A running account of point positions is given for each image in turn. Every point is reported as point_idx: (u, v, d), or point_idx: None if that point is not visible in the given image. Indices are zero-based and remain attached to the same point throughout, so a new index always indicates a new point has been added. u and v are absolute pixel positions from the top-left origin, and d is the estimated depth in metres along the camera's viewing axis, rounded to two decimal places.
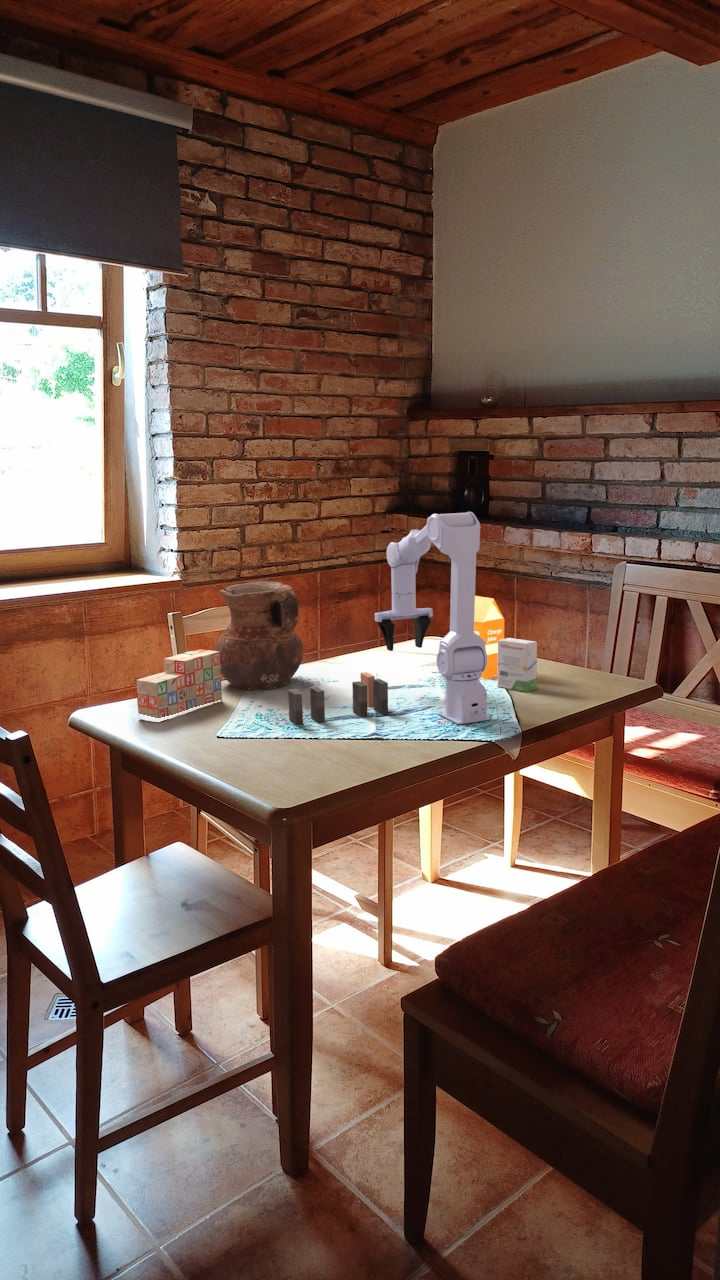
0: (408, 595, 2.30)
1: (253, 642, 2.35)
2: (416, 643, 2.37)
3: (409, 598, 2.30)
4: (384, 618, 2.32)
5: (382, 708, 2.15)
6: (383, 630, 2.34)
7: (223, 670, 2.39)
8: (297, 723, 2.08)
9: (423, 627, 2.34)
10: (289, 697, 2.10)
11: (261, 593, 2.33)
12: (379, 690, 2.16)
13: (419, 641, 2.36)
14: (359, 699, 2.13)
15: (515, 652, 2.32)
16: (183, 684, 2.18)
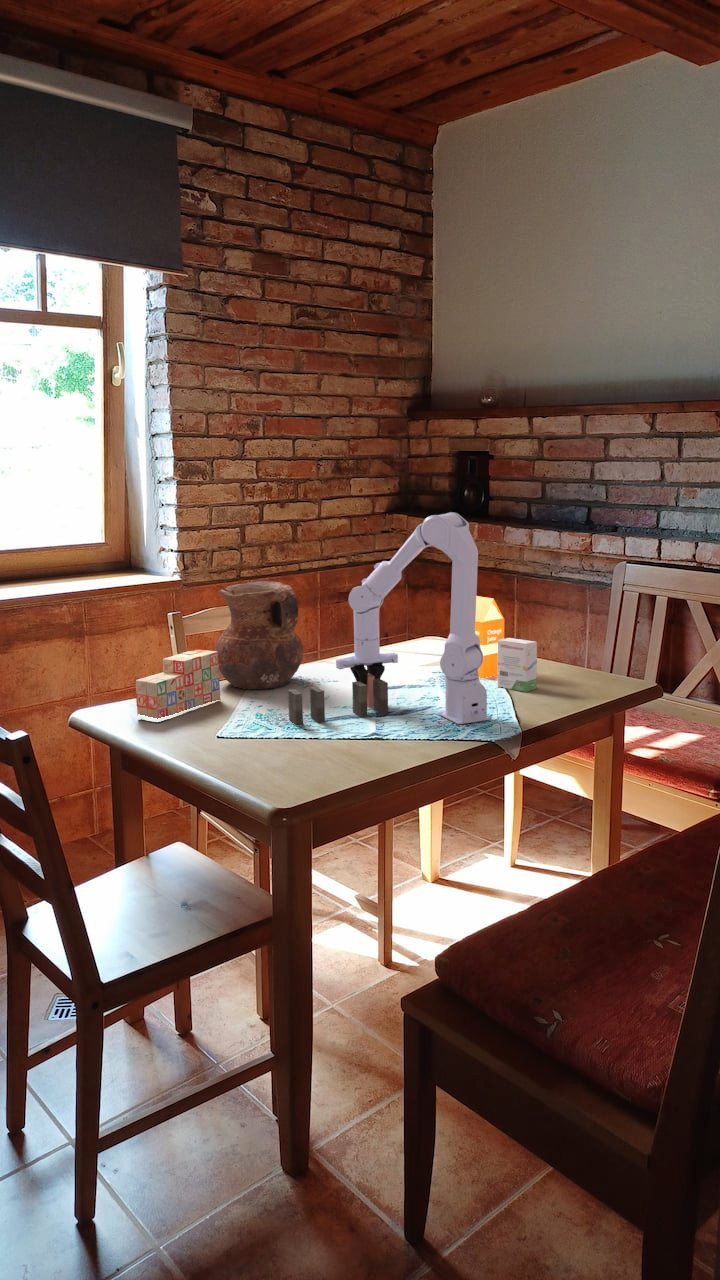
0: (371, 641, 2.19)
1: (253, 642, 2.35)
2: None
3: (372, 644, 2.19)
4: (346, 665, 2.20)
5: (382, 708, 2.15)
6: (356, 676, 2.23)
7: (223, 670, 2.39)
8: (297, 723, 2.08)
9: (376, 675, 2.22)
10: (289, 697, 2.10)
11: (261, 593, 2.33)
12: (379, 690, 2.16)
13: None
14: (359, 699, 2.13)
15: (515, 652, 2.32)
16: (182, 684, 2.18)
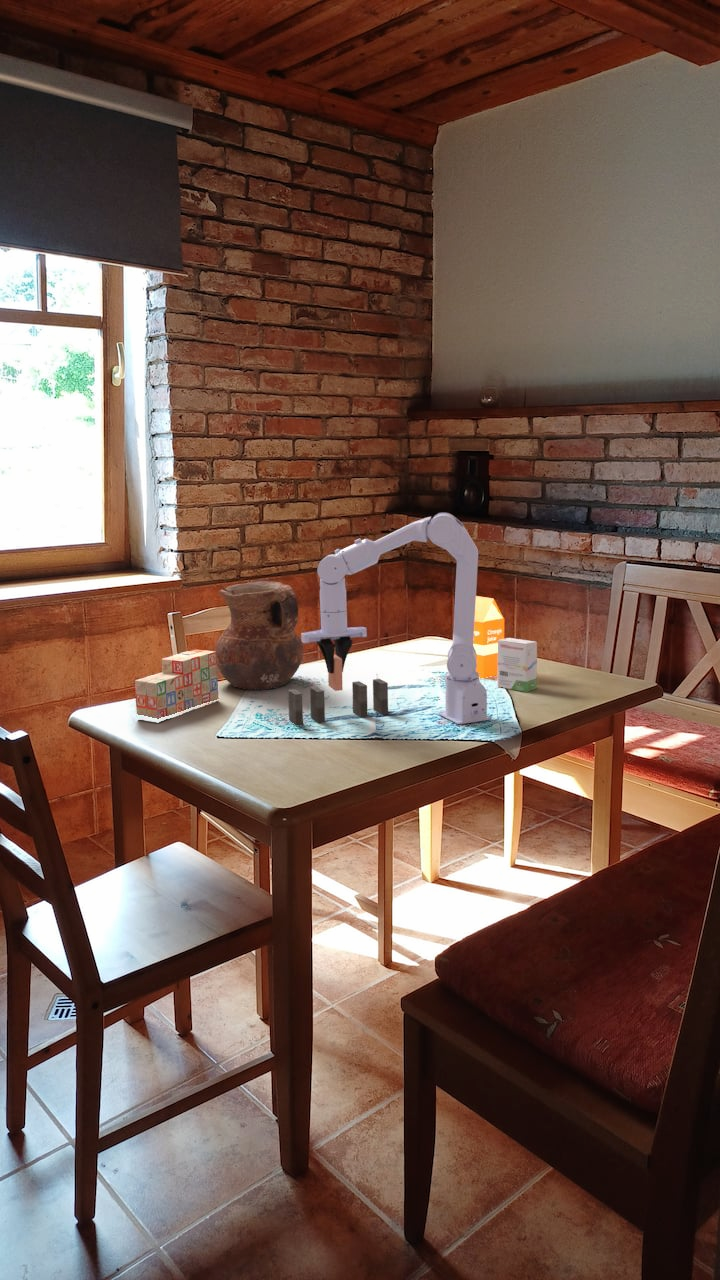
0: (337, 613, 2.08)
1: (253, 642, 2.35)
2: None
3: (339, 617, 2.09)
4: (312, 639, 2.10)
5: (382, 708, 2.15)
6: (323, 650, 2.13)
7: (223, 670, 2.39)
8: (297, 723, 2.08)
9: (344, 650, 2.11)
10: (289, 697, 2.10)
11: (261, 593, 2.33)
12: (379, 690, 2.16)
13: None
14: (359, 699, 2.13)
15: (515, 652, 2.32)
16: (181, 684, 2.18)
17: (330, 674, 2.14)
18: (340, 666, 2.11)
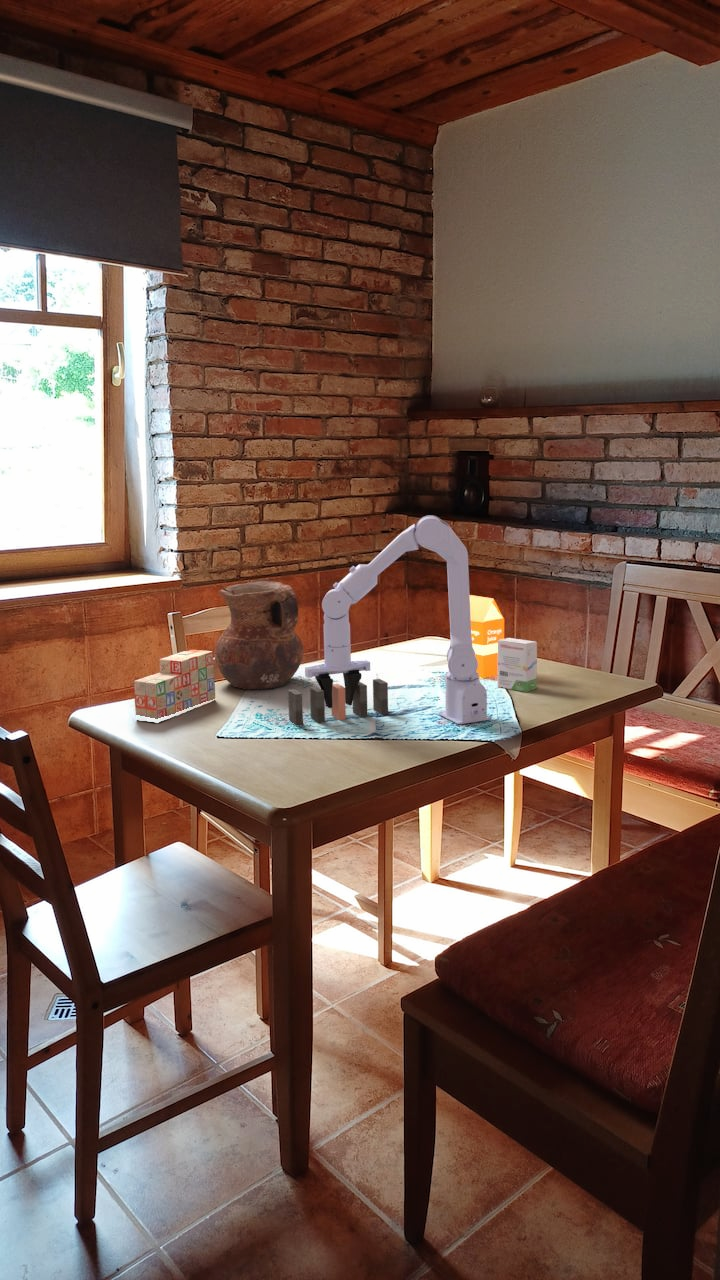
0: (341, 648, 2.08)
1: (253, 642, 2.35)
2: (346, 700, 2.15)
3: (343, 651, 2.09)
4: (315, 673, 2.10)
5: (382, 708, 2.15)
6: (321, 685, 2.12)
7: (223, 670, 2.39)
8: (297, 723, 2.08)
9: (353, 683, 2.12)
10: (289, 697, 2.10)
11: (261, 593, 2.33)
12: (379, 690, 2.16)
13: (349, 698, 2.13)
14: (359, 699, 2.13)
15: (515, 652, 2.32)
16: (180, 684, 2.18)
17: (333, 703, 2.14)
18: (343, 695, 2.11)
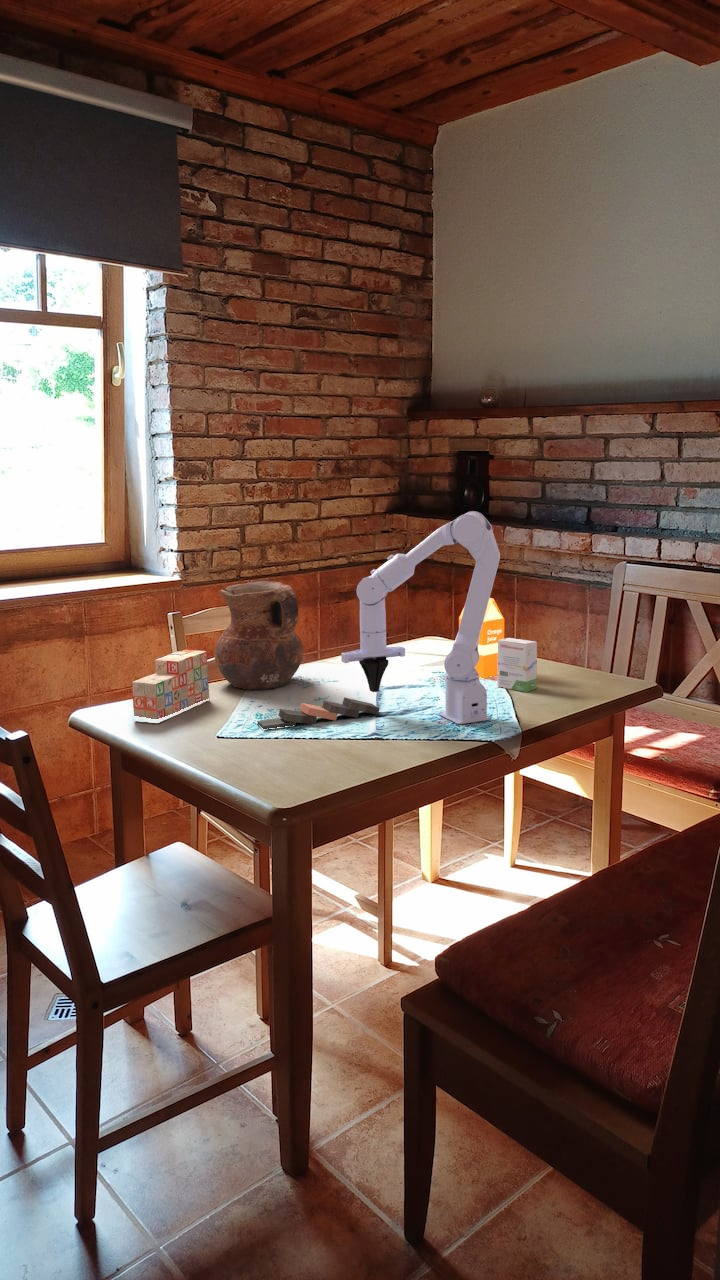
0: (377, 634, 2.11)
1: (253, 642, 2.35)
2: None
3: (379, 637, 2.11)
4: (351, 659, 2.13)
5: (372, 713, 2.15)
6: (365, 669, 2.16)
7: (223, 670, 2.39)
8: None
9: (380, 670, 2.14)
10: None
11: (261, 593, 2.33)
12: None
13: (376, 685, 2.15)
14: (341, 714, 2.12)
15: (515, 652, 2.32)
16: (177, 684, 2.18)
17: None
18: (315, 710, 2.09)
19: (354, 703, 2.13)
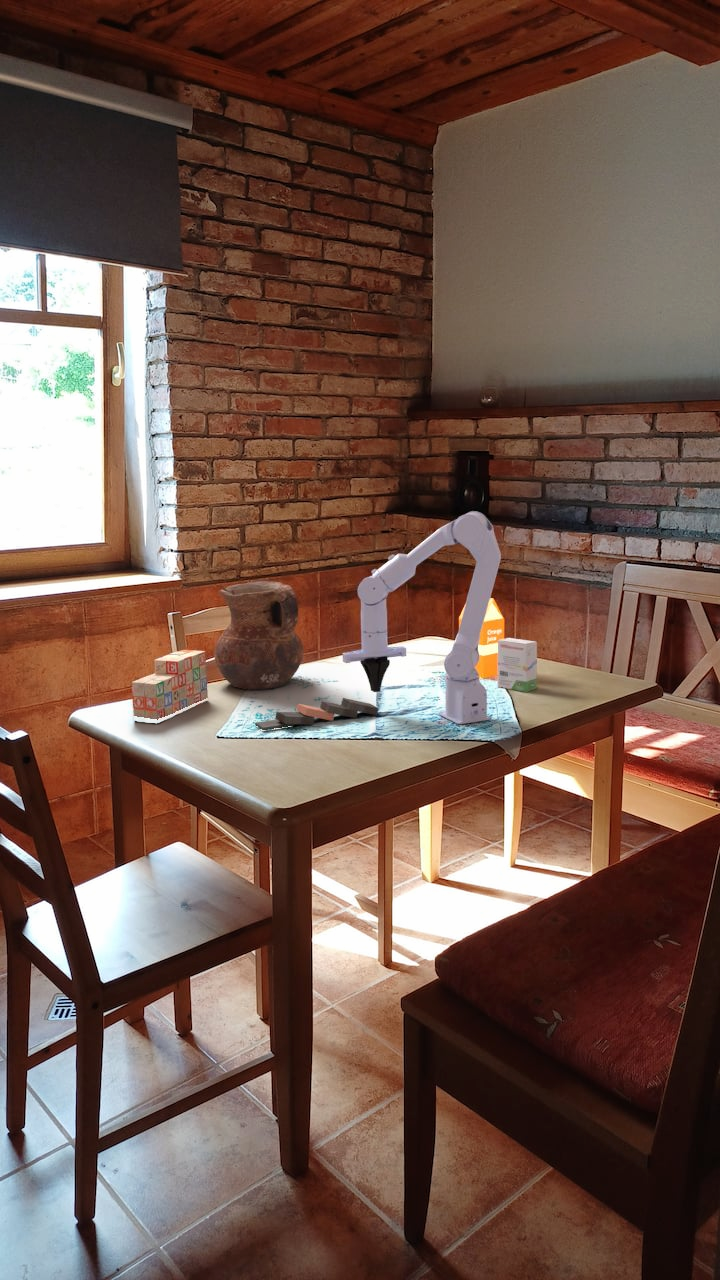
0: (379, 634, 2.11)
1: (253, 642, 2.35)
2: None
3: (380, 637, 2.12)
4: (353, 659, 2.13)
5: (371, 713, 2.15)
6: (367, 670, 2.16)
7: (223, 670, 2.39)
8: None
9: (381, 670, 2.14)
10: None
11: (261, 593, 2.33)
12: None
13: None
14: None
15: (515, 652, 2.32)
16: (176, 684, 2.18)
17: None
18: (313, 711, 2.09)
19: (353, 704, 2.12)
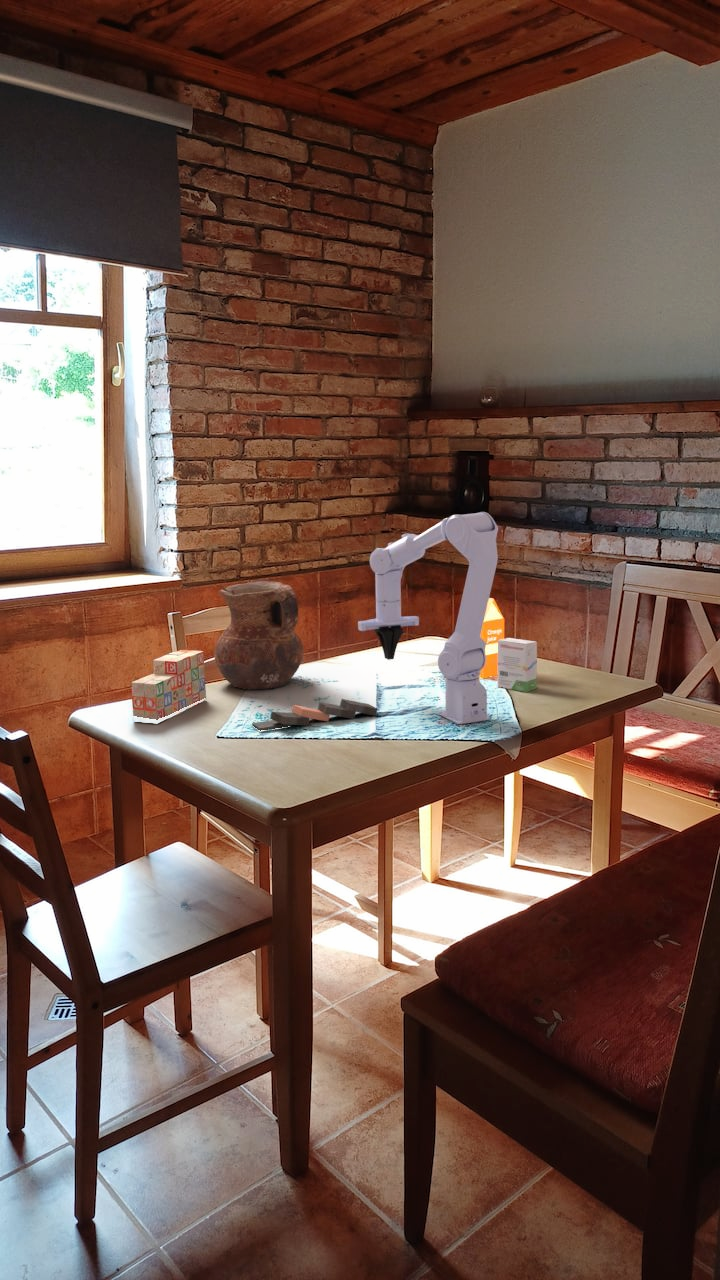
0: (393, 603, 2.20)
1: (253, 642, 2.35)
2: None
3: (394, 606, 2.21)
4: (368, 627, 2.22)
5: (370, 714, 2.14)
6: (381, 638, 2.25)
7: (223, 670, 2.39)
8: None
9: (395, 638, 2.23)
10: None
11: (261, 593, 2.33)
12: None
13: None
14: (336, 715, 2.12)
15: (515, 652, 2.32)
16: (176, 685, 2.18)
17: None
18: (308, 712, 2.08)
19: (352, 704, 2.12)
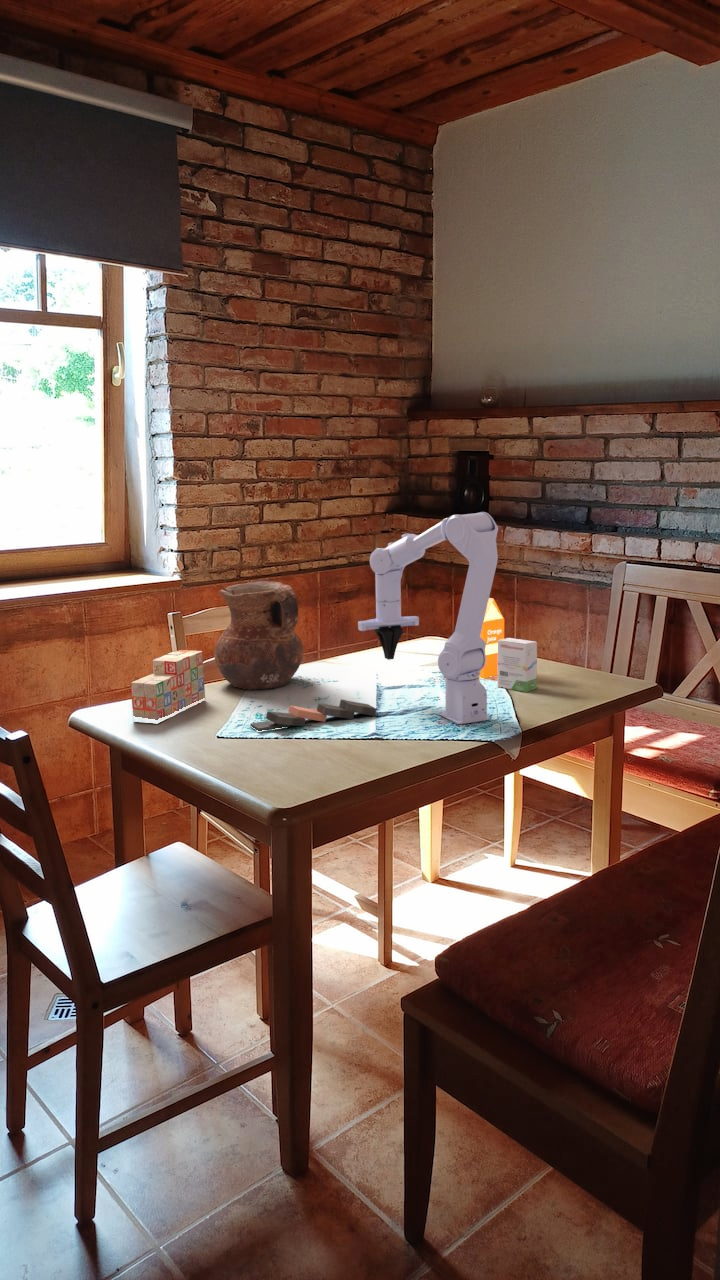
0: (393, 603, 2.20)
1: (253, 642, 2.35)
2: None
3: (394, 606, 2.21)
4: (368, 627, 2.22)
5: (370, 714, 2.14)
6: (381, 638, 2.25)
7: (223, 670, 2.39)
8: None
9: (395, 638, 2.23)
10: None
11: (261, 593, 2.33)
12: None
13: None
14: None
15: (515, 652, 2.32)
16: (175, 685, 2.18)
17: None
18: (305, 712, 2.08)
19: (351, 705, 2.12)
